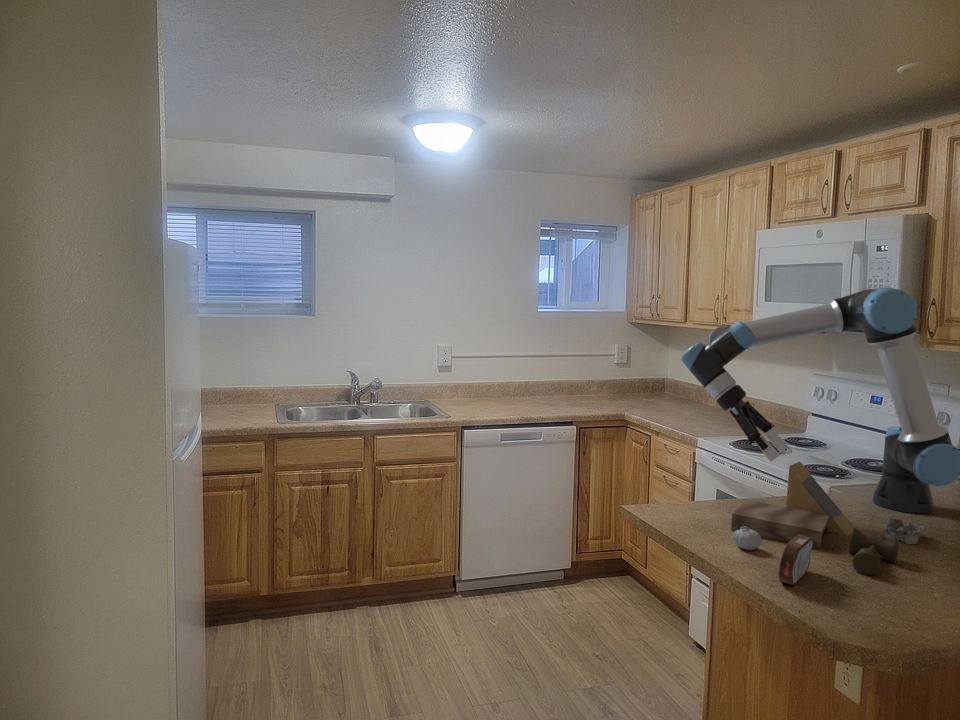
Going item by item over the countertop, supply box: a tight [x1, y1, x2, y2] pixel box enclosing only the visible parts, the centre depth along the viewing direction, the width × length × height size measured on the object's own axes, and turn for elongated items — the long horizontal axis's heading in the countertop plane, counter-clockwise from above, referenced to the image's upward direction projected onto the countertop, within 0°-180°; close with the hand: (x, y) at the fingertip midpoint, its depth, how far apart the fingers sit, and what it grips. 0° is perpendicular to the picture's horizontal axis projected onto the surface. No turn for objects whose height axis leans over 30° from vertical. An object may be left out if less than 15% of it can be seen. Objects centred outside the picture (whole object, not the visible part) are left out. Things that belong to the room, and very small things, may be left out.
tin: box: [778, 534, 813, 586], centre depth 141 cm, size 15×3×8 cm, turn 140°
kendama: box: [848, 527, 900, 577], centre depth 153 cm, size 6×10×20 cm
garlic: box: [733, 526, 762, 551], centre depth 158 cm, size 6×5×5 cm
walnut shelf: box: [730, 499, 830, 550], centre depth 171 cm, size 20×16×4 cm
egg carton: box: [884, 514, 925, 545], centre depth 171 cm, size 11×8×4 cm
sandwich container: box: [785, 461, 856, 537], centre depth 177 cm, size 9×15×15 cm, turn 48°
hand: (780, 454), depth 183 cm, fingers open, 13 cm apart
